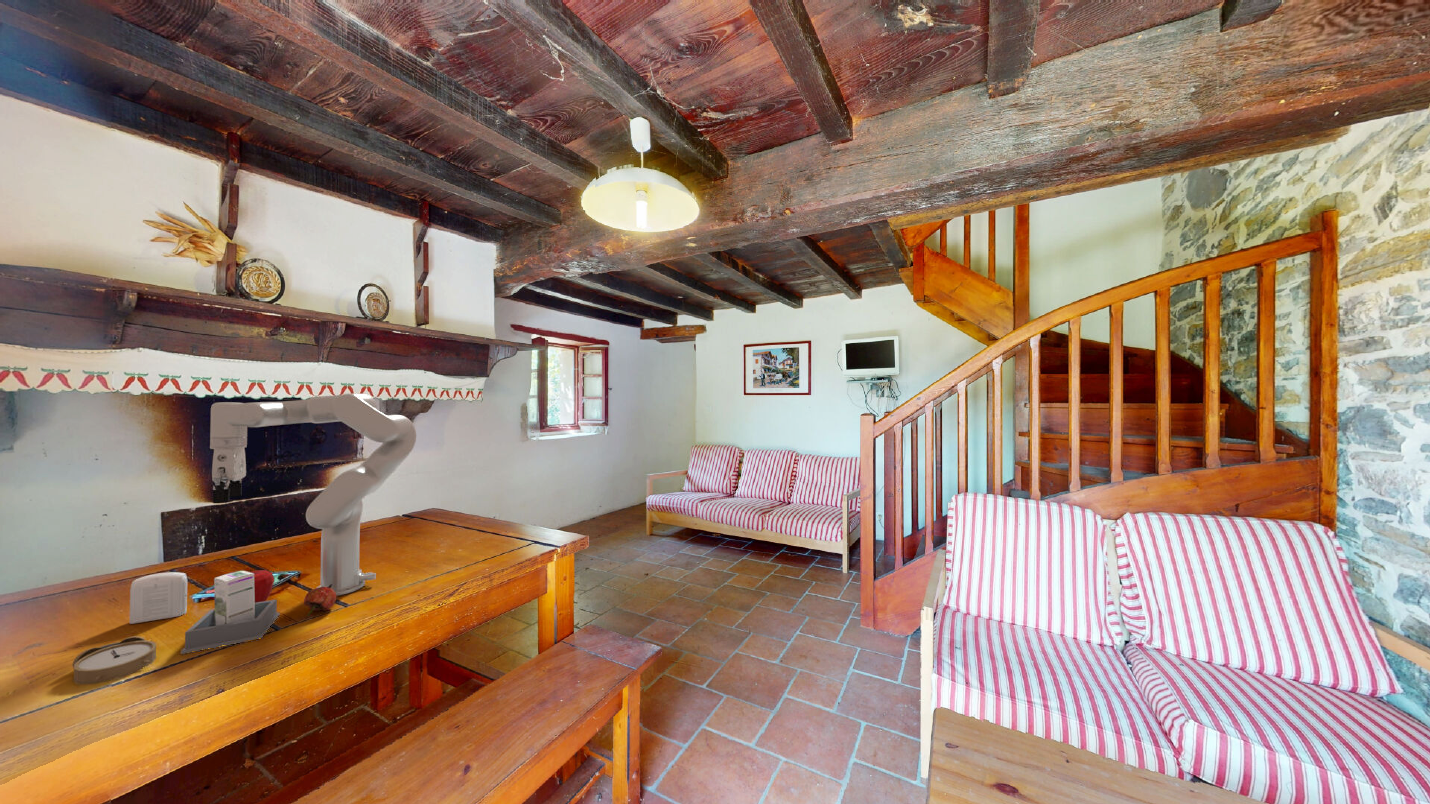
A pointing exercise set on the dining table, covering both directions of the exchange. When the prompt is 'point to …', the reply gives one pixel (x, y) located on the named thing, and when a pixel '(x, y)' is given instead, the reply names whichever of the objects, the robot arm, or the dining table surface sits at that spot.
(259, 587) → the apple
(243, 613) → the syrup box
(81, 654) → the alarm clock
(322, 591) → the pomegranate
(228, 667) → the dining table surface
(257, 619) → the grey square tray
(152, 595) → the photo printer
